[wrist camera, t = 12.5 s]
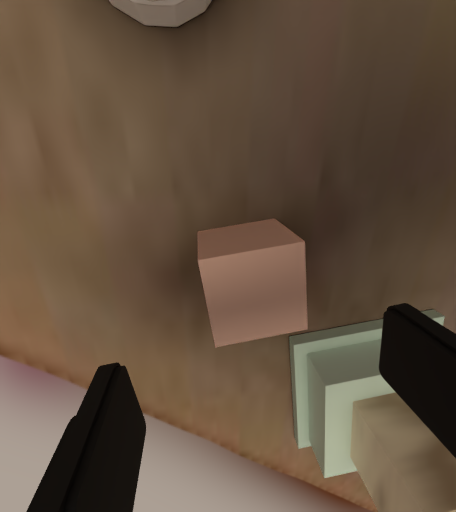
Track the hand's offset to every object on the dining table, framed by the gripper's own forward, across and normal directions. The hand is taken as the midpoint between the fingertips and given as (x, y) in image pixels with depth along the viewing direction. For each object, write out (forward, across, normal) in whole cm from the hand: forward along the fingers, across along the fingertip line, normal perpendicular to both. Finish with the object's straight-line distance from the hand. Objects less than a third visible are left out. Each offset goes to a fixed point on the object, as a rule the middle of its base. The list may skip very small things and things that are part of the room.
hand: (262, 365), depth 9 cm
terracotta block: (+9, -1, -1) cm, 9 cm away
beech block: (+5, -10, +12) cm, 16 cm away
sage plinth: (+9, -10, +12) cm, 18 cm away
